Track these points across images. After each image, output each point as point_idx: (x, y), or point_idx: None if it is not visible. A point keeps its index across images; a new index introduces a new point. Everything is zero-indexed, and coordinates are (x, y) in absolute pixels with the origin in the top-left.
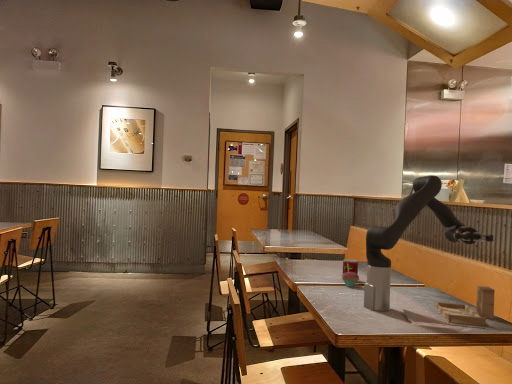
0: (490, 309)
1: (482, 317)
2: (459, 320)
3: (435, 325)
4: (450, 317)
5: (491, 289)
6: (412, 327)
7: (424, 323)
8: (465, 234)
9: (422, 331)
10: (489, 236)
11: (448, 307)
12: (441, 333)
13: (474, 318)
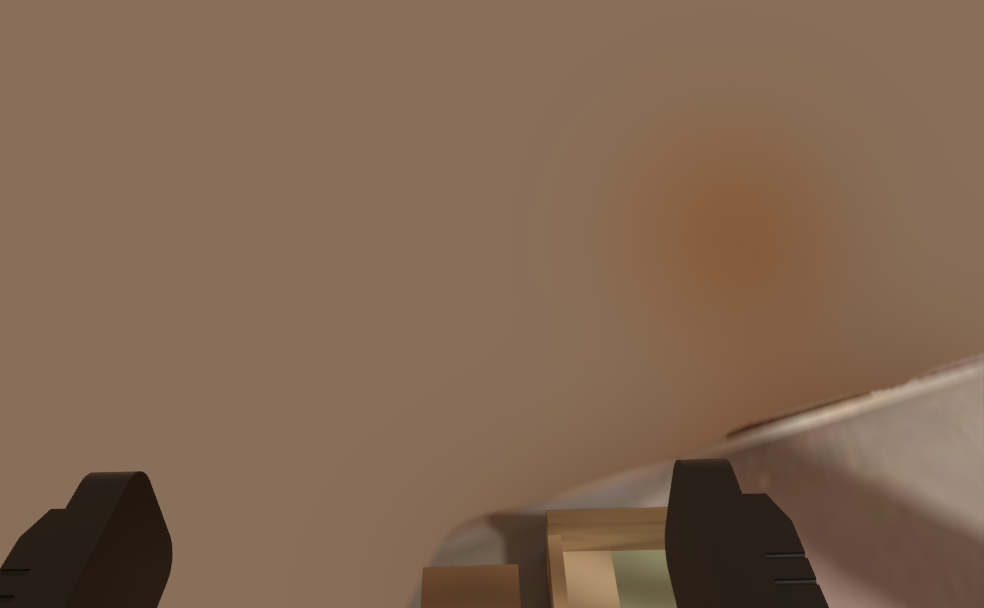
0: None
1: (561, 522)
2: None
3: (806, 520)
4: None
5: (443, 576)
6: (902, 457)
7: (867, 532)
8: (746, 597)
9: (845, 426)
10: (126, 473)
11: None
12: (764, 429)
13: (607, 512)
